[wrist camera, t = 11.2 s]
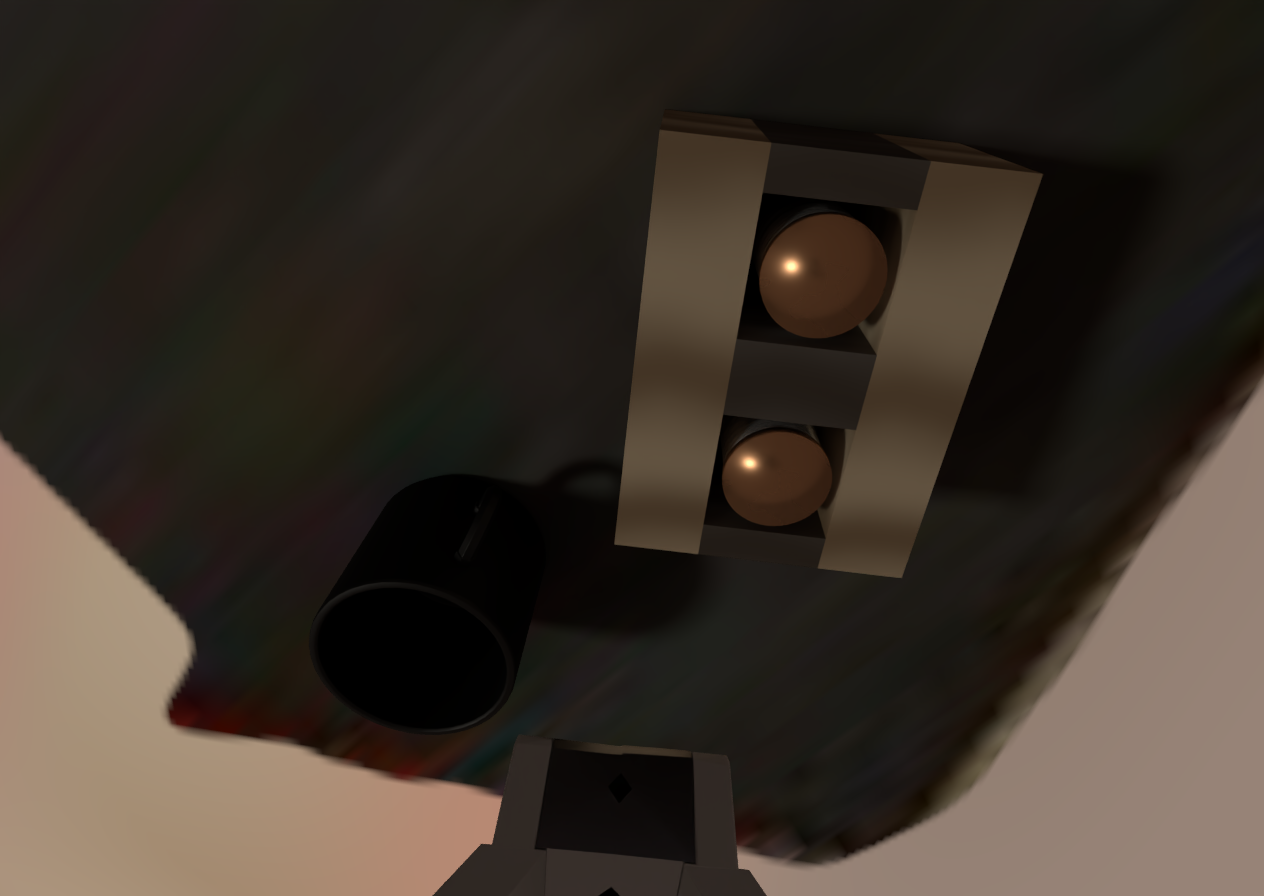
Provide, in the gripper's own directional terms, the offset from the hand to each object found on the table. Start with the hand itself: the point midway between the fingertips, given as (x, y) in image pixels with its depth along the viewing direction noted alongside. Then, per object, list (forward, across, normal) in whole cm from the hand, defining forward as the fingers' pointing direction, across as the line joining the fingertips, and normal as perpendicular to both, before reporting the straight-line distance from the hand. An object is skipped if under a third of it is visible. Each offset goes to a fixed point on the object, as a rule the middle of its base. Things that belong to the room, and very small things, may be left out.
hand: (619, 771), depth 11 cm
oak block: (+26, -6, +2) cm, 27 cm away
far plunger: (+25, -6, +6) cm, 26 cm away
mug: (+26, +9, +16) cm, 32 cm away
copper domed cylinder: (+25, -6, -2) cm, 26 cm away
